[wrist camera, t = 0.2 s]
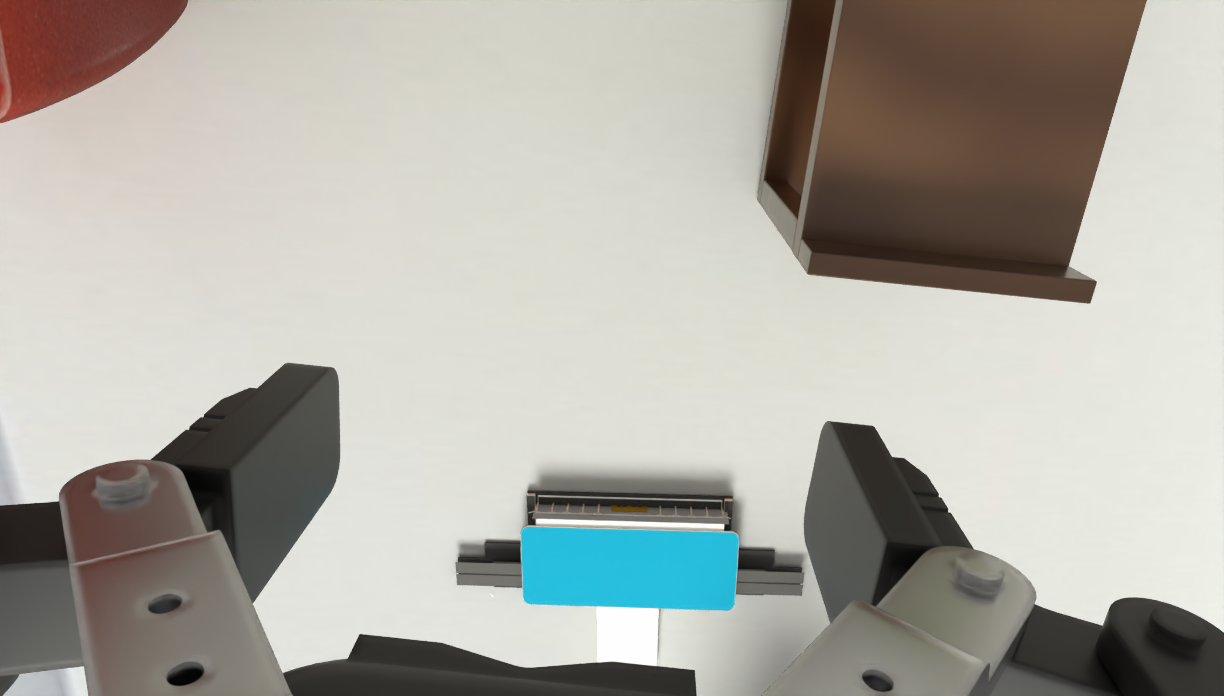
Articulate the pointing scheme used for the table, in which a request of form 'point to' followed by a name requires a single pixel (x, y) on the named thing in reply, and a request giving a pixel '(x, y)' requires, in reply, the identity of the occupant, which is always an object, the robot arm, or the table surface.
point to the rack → (944, 138)
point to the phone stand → (629, 562)
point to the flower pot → (72, 46)
